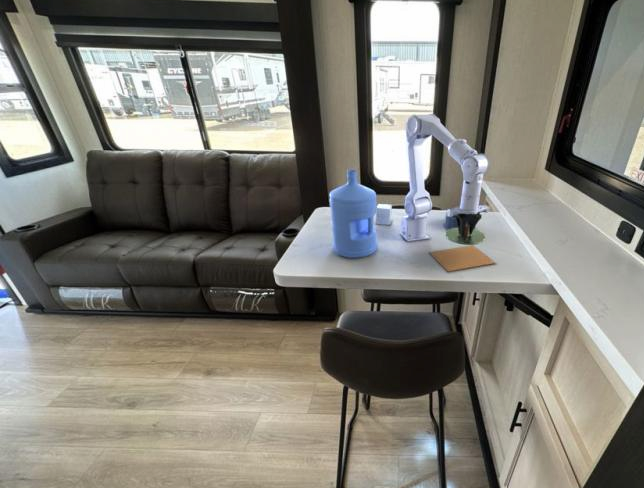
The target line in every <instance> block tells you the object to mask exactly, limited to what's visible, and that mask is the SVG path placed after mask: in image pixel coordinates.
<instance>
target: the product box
mask: <svg viewBox="0 0 644 488" xmlns="http://www.w3.org/2000/svg"><path fill="white" fill-rule="evenodd" d="M392 208H393V205H392V204H389V203H388V204H387V203H385V204H384V203H378V204H377V205H376V214H375V216H376V217H375V218H376V220H375V221H376V222H375V223H376V225H384V226H390V225H391V223H392V215H393V213H392V210H393V209H392Z"/></svg>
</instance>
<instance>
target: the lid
mask: <svg viewBox="0 0 644 488" xmlns="http://www.w3.org/2000/svg"><path fill="white" fill-rule="evenodd" d="M469 231H470V225H468V224H466V226H465V231H464V235H463V236H461V235H460V234H459V231H458V228H452V229H447V230H446V231H445V233H444V236H445V238H446V239H447V240H448V241H450V242H452V243H455V244H459V245H465V246H475V245H479V244H482V243H484V241H485V240H486V236H485V234H484V233H483V232H481V231H479V230H477V229H474V230H473V232H472V234H471V235H470V234H469Z"/></svg>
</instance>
